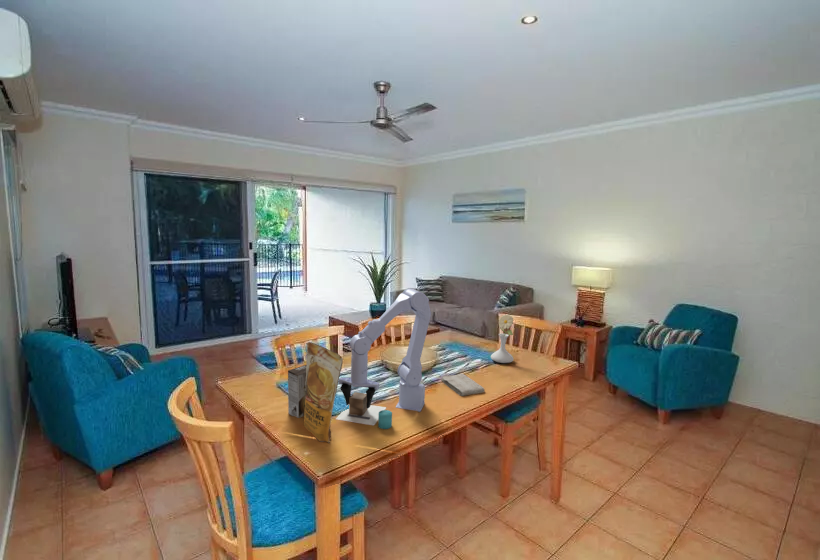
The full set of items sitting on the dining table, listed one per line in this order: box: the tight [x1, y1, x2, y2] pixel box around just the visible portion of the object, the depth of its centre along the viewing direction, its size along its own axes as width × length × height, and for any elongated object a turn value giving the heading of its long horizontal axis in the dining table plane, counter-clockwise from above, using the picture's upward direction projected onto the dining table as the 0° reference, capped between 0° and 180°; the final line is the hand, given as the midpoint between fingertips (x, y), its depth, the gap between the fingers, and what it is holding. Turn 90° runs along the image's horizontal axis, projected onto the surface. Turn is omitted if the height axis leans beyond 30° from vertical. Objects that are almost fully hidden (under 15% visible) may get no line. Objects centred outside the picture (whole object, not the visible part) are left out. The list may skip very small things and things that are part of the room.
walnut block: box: [349, 391, 367, 416], centre depth 146 cm, size 5×5×6 cm
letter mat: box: [335, 404, 387, 426], centre depth 145 cm, size 14×14×1 cm
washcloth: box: [440, 373, 485, 397], centre depth 174 cm, size 12×18×3 cm, turn 26°
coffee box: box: [287, 364, 306, 419], centre depth 144 cm, size 9×6×16 cm
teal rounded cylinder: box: [377, 409, 393, 430], centre depth 137 cm, size 4×4×5 cm
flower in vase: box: [490, 314, 514, 364], centre depth 205 cm, size 13×11×25 cm
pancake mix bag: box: [303, 341, 344, 443], centre depth 131 cm, size 7×19×28 cm, turn 40°
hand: (358, 405), depth 146 cm, fingers open, 7 cm apart
